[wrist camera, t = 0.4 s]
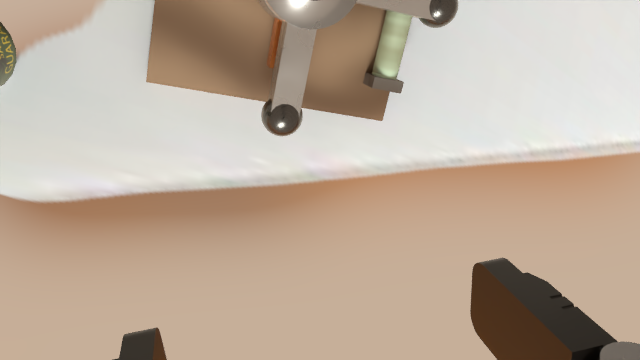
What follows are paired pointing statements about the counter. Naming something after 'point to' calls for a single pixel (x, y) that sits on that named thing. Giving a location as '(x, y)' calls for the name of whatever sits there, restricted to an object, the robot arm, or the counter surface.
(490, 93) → the counter surface
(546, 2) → the counter surface
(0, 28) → the green soda can
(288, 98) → the capstan
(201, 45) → the stand
